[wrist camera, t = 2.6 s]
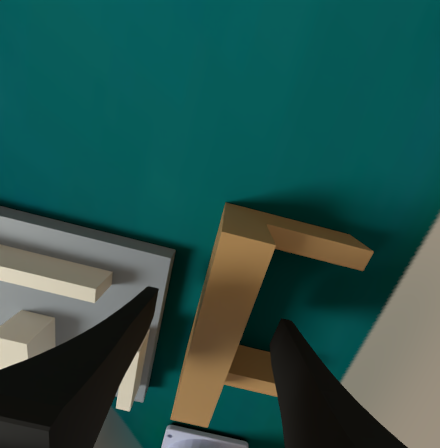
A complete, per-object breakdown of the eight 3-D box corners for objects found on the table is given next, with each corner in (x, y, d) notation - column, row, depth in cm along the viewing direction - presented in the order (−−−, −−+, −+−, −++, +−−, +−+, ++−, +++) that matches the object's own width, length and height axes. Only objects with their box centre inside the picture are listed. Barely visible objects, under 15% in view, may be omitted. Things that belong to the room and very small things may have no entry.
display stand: (148, 387, 19) (131, 435, 16) (-45, 343, 18) (-104, 384, 15) (175, 249, 14) (159, 278, 11) (-81, 185, 14) (-178, 196, 10)
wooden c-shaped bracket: (349, 234, 13) (415, 280, 8) (283, 367, 17) (303, 449, 12) (225, 202, 13) (221, 231, 8) (187, 344, 17) (170, 419, 12)
